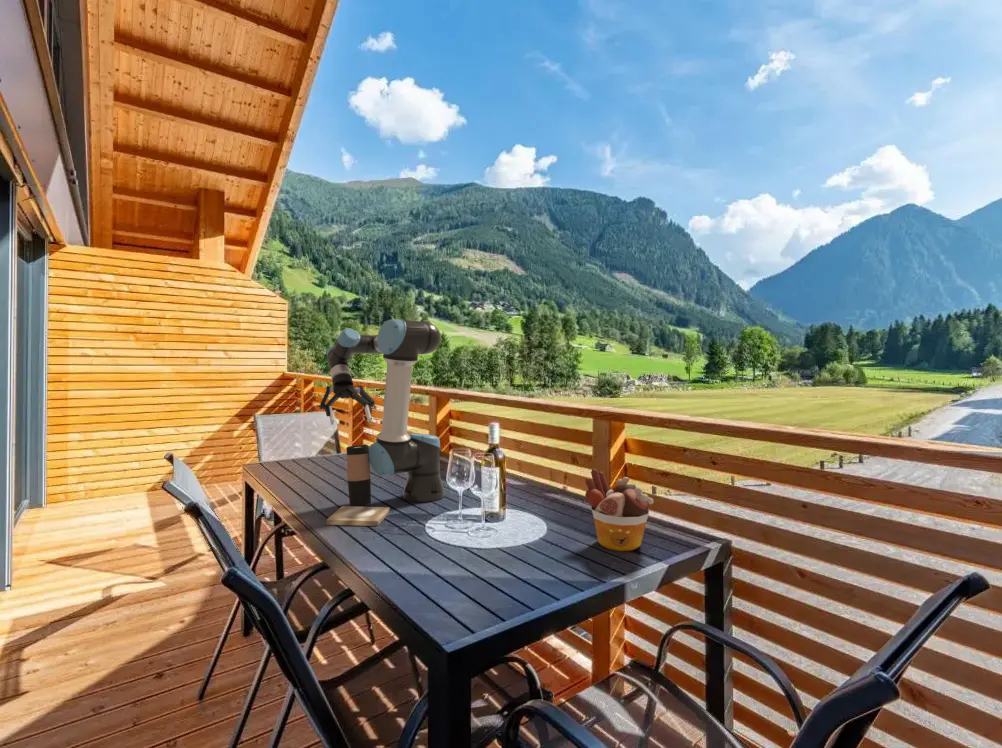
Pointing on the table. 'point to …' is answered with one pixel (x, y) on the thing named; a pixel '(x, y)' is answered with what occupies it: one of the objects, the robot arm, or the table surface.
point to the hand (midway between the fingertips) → (351, 421)
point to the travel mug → (358, 475)
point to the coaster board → (358, 516)
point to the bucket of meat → (617, 512)
